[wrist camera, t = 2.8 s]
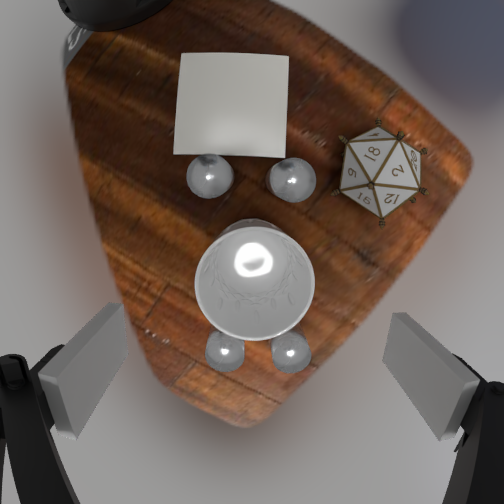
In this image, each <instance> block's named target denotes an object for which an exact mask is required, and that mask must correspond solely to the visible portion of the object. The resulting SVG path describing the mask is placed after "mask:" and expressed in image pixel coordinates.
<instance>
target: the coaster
mask: <svg viewBox="0 0 504 504" xmlns="http://www.w3.org/2000/svg"><path fill="white" fill-rule="evenodd" d="M288 67H289V56H280V55H267V54H249V53H182V54H181V63H180V73H179V83H178V94H177V106H176V120H175V135H174V152H173V154H175V155H203V154H216V155H225V156H250V157H268V158H283V159H284V158H285V144H286V122H287V97H288Z"/></svg>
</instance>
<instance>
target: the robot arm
mask: <svg viewBox="0 0 504 504" xmlns="http://www.w3.org/2000/svg"><path fill="white" fill-rule="evenodd" d="M171 1H172V0H58V2H59V5H60V7H61V9H62V11H63V13H64V14H65V15H66V16H67V17H68V18H69V19H70V20H71V21H73V22H74V23H75V24H76V25H78V26H79V27H81V28H84V29H87V30H91V31H111V30H116V29H121V28H124V27H128V26H130V25H133V24H136V23H138V22H140V21H142V20H144V19H146V18H148V17H150V16H152V15H153V14H155V13H156V12H158V11H159V10H161V9H162V8H163V7H165V6H166V5H167V4H168V3H170V2H171ZM127 356H128V347H127V339H126V329H125V319H124V308H123V304H118V303H108V304H107V305H106V306H105V307H104V308H103V309H102V310H101V311H100V312H99V313H98V314H96V316H94V317H93V318H92V319H91V320H90V321H89V322H88V323H87V324H86V325H85V326H84V327H83V328H82V329H81V330H80V331H79V332H78V333H77V334H76V335H75V336H74V337H73V338H72V339H71V340H70V341H69V342H68V343H67V344H66V345H62V344H61V345H59V346H57V347H55V348H52V349H51V350H50V351H49V352H48V353H47V354H46V355H45V356H44V357H43V358H42V359H41V360H40V361H39V362H38V363H37V364H36V365H35V366H34V367H33V368H32V369H31V370H30V371H29V368H28V365H27V361H26V359H25V357H23V356H21V355H17V354H8V355H4V356H1V357H0V504H1V496H2V495H1V494H2V478H3V465H4V456H5V447H6V443H7V449H8V454H9V459H10V464H11V468H12V473H13V477H14V481H15V485H16V489H17V493H18V496H19V499H20V503H21V504H80V502H79V500H78V498H77V496H76V494H75V492H74V489H73V487H72V485H71V483H70V480H69V478H68V476H67V474H66V471H65V469H64V466H63V464H62V461H61V459H60V456H59V454H58V451H57V448H56V446H55V443H54V440H53V437H52V435H51V432H50V429H51V427H52V426H53V425H54V424H55V426H56V429H57V431H58V434H59V435H60V436H64V437H67V438H71V439H74V440H77V438H78V436H79V435H80V433H81V431H82V430H83V428H84V426H85V425H86V423H87V421H88V419H89V418H90V416H91V414H92V413H93V411H94V409H95V408H96V406H97V404H98V403H99V401H100V399H101V398H102V396H103V394H104V393H105V391H106V389H107V388H108V386H109V385H110V383H111V381H112V379H113V378H114V376H115V374H116V373H117V372H118V370H119V368H120V367H121V365H122V364H123V361H124V360H125V359H126V357H127ZM382 361H383V362H384V364H385V365H386V367H387V368H388V369H389V371H390V372H391V373H392V375H393V376H394V378H395V379H396V380H397V382H398V383H399V384H400V386H401V387H402V389H403V390H404V391H405V393H406V394H407V395H408V397H409V399H410V400H411V401H412V403H413V404H414V406H415V407H416V408H417V410H418V411H419V413H420V414H421V416H422V417H423V418H424V420H425V421H426V423H427V424H428V426H429V427H430V429H431V430H432V431H433V433H434V434H435V436H436V437H437V439H438V440H439V441H443V440H446V439H450V438H454V437H455V435H456V433H457V431H458V429H459V427H460V426H461V427H462V428H463V429H464V433H463V435H462V437H461V439H460V441H459V443H458V445H457V447H456V449H455V450H454V452H456V451H457V450H458V453H457V457H456V460H455V464H454V468H453V471H452V475H451V478H450V482H449V485H448V488H447V491H446V494H445V497H444V500H443V503H442V504H504V383H501V382H496V381H492V382H489V383H488V382H487V381H486V380H485V379H484V378H482V377H481V376H480V375H479V374H478V373H477V372H476V371H475V370H473V369H472V367H471V366H469V365H467V363H466V362H465V361H464V360H463V359H462V358H460V357H458V356H456V355H454V354H452V353H451V352H450V351H448V350H447V349H446V348H445V347H444V346H443V345H442V344H440V343H439V342H438V341H437V340H436V339H435V338H434V337H433V336H432V335H431V334H430V333H428V332H427V331H426V330H425V329H424V328H423V327H422V326H420V325H419V324H418V323H417V322H416V321H414V320H413V319H412V318H411V317H410V316H409V315H408V314H407V313H393V315H392V319H391V324H390V329H389V334H388V338H387V343H386V347H385V351H384V355H383V360H382Z"/></svg>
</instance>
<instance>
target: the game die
mask: <svg viewBox="0 0 504 504" xmlns="http://www.w3.org/2000/svg"><path fill="white" fill-rule="evenodd" d="M375 122H376V125H377V127H375V128H373V129H371V130H369V131H367V132H365V133H363V134H361V135H359V136H357V137H355V138H353V139H351V140H349V141H348V140H347V138H345V136H339V138H340V141H342V142H343V143H345V151H344V152H342V153H340V154H341V157H343V165H342V171H341V178H340V184H339V189H335V190H334V191H332V193H331V195H332V196H336V195H338V194H339V193H342V194H344V195H345V196H347V197H348V198H350V199H351V200H353V201H355V202H356V203H358V204H359V205H361V206H362V207H364V208H365V209H367V210H368V211H370V212H371V213H373V214H374V215H376V216H377V217H379V218H380V221H379V222H380V223H379V225H380V227H381V229H383V227H384V226H385V222H384V218H386V217H387V216H388V215H390V214H391V213H392V212H394V211H395V210H396V209H398V208H399V207H400V206H402V205H403V204H404V203H405V202H407V201H408V200H409V199H410V201H411V203H416V199H415V198H414V197H413V196H415V195H416V194H417V193H418V192H421V193H422V194H423V195H428V194H429V192H428V191H427V189H425V188H421V155H422V154H424V155H425V154H427V151H428V149H426V148H423V149H421V151H419V150H417V149H416V148H414V147H413V146H411V145H410V144H408V143H407V142H405V141H404V140H402V138H403V137H404V136H405V135H404V133H403V131H401V132H398V134H397V136H396V135H394V134H392V133H391V132H389V131H387V130H386V129H384V128H382V127H381V126H380V125H381V120H380V119H379V118H377V120H376V121H375Z"/></svg>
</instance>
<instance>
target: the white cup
mask: <svg viewBox="0 0 504 504" xmlns="http://www.w3.org/2000/svg"><path fill="white" fill-rule="evenodd" d="M314 288H315V278H314V271H313V267H312V264H311V262H310V260H309V258H308V256H307V254H306V253H305V251H304V250H303V249H302V247H301V246H300V245H299V244H298V243H297V242H296V241H295V240H293V239H292V238H291V237H290V236H288V235H287V234H286V233H285V232H284V231H283V230H281V229H280V228H278V227H277V226H275V225H273V224H271V223H269V222H267V221H264V220H261V219H259V218H252V219H241V220H239V221H237V222H235V223H234V224H232V225H230V226H228V227H227V228H226V229H225V230H223V231H222V232H221V233H220V234H219V235H218V236H217V237H216V239H215V240H214V241H213V243H212V244H211V245H210V246H209V248H208V249H207V250H206V251H205V253H204V254H203V256H202V258H201V260H200V262H199V264H198V267H197V270H196V275H195V293H196V298H197V301H198V304H199V306H200V309H201V310H202V312H203V314H204V315H205V317H206V318H207V319H208V320H209V322H210V323H211V324H212V325H214V326H215V327H216V328H217V329H219V330H220V331H222V332H223V333H225V334H227V335H229V336H232V337H235V338H238V339H242V340H251V341H257V340H266V339H270V338H274V337H277V336H279V335H281V334H283V333H285V332H287V331H288V330H290V329H291V328H293V327H294V326H295V325H296V324H297V323H298V322H299V321H300V320H301V319H302V318H303V316H304V315H305V314H306V312H307V310H308V308H309V306H310V304H311V302H312V299H313V295H314Z"/></svg>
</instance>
